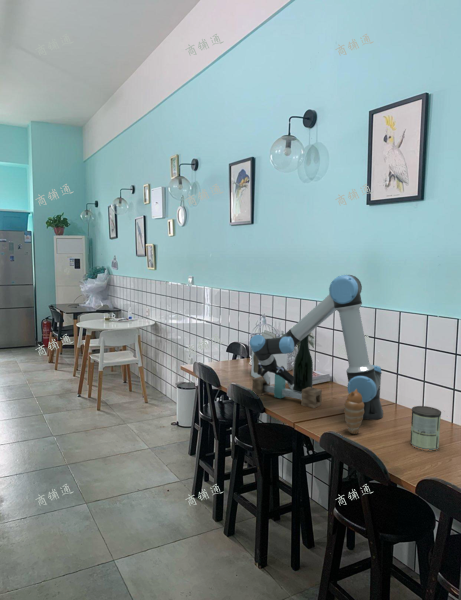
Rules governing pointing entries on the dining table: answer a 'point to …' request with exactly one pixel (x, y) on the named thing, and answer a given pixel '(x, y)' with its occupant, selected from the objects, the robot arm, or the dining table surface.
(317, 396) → the sleeve
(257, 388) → the socket block
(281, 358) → the gable box
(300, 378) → the beer bottle
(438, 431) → the coffee can
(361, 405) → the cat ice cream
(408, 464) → the dining table surface
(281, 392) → the grey and teal t-shape
